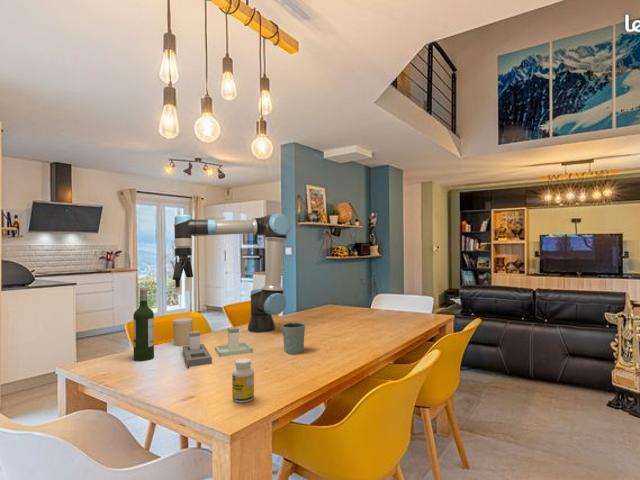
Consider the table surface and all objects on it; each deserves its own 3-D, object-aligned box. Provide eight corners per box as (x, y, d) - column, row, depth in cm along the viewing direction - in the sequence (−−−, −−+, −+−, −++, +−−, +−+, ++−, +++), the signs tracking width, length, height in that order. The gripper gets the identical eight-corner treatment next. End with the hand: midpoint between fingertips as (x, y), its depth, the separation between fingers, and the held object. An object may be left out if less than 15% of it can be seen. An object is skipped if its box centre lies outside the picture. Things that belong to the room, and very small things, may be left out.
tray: (246, 347, 173) (246, 342, 173) (252, 353, 162) (252, 348, 162) (215, 351, 167) (215, 346, 167) (219, 358, 156) (219, 352, 156)
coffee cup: (196, 341, 186) (196, 317, 186) (187, 346, 176) (187, 321, 176) (178, 341, 186) (178, 317, 187) (168, 346, 177) (168, 321, 177)
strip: (203, 350, 169) (203, 342, 169) (211, 365, 147) (211, 355, 147) (182, 353, 165) (182, 344, 165) (187, 368, 143) (187, 359, 144)
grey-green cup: (302, 348, 170) (301, 321, 171) (308, 353, 161) (307, 326, 161) (280, 350, 167) (279, 323, 167) (285, 356, 158) (285, 328, 158)
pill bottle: (229, 397, 114) (229, 359, 115) (249, 393, 118) (249, 356, 118) (236, 405, 109) (236, 365, 109) (257, 400, 112) (257, 361, 113)
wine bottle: (135, 357, 160) (134, 287, 161) (155, 355, 163) (154, 286, 164) (131, 362, 153) (131, 289, 154) (152, 360, 155) (152, 288, 156)
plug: (237, 349, 167) (236, 327, 168) (239, 351, 164) (238, 328, 164) (228, 350, 166) (227, 328, 166) (229, 352, 162) (229, 329, 162)
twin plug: (198, 353, 164) (198, 330, 165) (200, 355, 161) (199, 332, 161) (189, 354, 163) (189, 331, 163) (190, 357, 159) (190, 333, 159)
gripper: (184, 247, 189) (184, 289, 188) (164, 247, 164) (165, 296, 163) (199, 247, 189) (199, 289, 188) (181, 247, 164) (182, 295, 163)
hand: (183, 292), depth 176 cm, fingers open, 13 cm apart
